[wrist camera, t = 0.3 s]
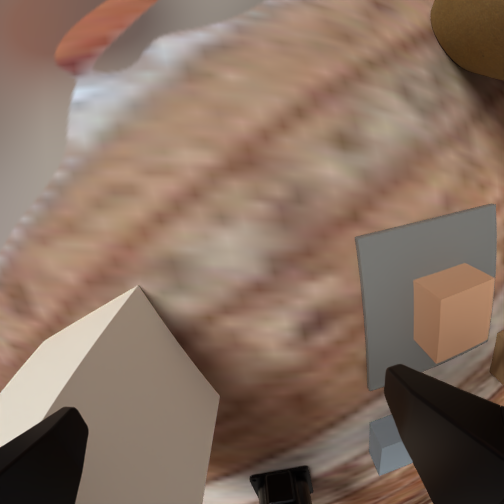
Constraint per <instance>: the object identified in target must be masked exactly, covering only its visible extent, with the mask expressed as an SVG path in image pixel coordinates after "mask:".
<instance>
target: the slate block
mask: <svg viewBox="0 0 504 504" xmlns="http://www.w3.org/2000/svg"><path fill="white" fill-rule="evenodd" d="M369 452H370V455H371V457H372V460H373V462H374V464H375V467H376V469H377V472H378V474H379V476H380V475H383V474H385V473H388V472H391V471H393V470H396V469H398V468H401V467H403V466H406V465H408V464H411V463H413V462H412V460H411V458H410V456H409V454H408V452H407V450H406V448H405V446H404V444H403V442H402V440H401V438H400V435H399V432H398V430H397V427H396V424H395V421H394V419H393V416H392V415H389V416H386V417H384V418H381V419H378V420H375V421H372V422H370V437H369Z"/></svg>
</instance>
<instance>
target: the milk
mask: <svg viewBox="0 0 504 504" xmlns="http://www.w3.org/2000/svg"><path fill="white" fill-rule="evenodd" d="M219 399H220V396H219V394H218V393H217V392H216V391H215V389H214V388H213V387H212V386H211V385H210V383H209V382H208V381H207V380H206V378H205V377H204V376H203V374H202V373H201V372H200V371H199V369H198V368H197V367H196V366H195V364H194V363H193V362H192V360H191V359H190V358H189V356H188V355H187V354H186V352H185V351H184V350H183V348H182V347H181V346H180V344H179V343H178V342H177V340H176V339H175V337H174V336H173V335H172V333H171V332H170V331H169V329H168V328H167V326H166V325H165V323H164V322H163V321H162V319H161V318H160V316H159V315H158V313H157V312H156V311H155V309H154V308H153V306H152V305H151V303H150V302H149V300H148V299H147V297H146V296H145V294H144V293H143V291H142V290H141V288H140V287H139V285H138V286H136V287H134V288H132V289H131V290H129V291H127V292H126V293H124V294H122V295H120V296H119V297H117V298H115V299H114V300H112V301H110V302H108V303H107V304H105V305H103V306H102V307H100V308H98V309H96V310H95V311H93V312H91V313H90V314H88V315H86V316H85V317H83V318H81V319H80V320H78V321H76V322H75V323H73V324H71V325H70V326H68V327H66V328H65V329H63V330H61V331H60V332H58V333H56V334H55V335H53V336H51V337H50V338H48V339H46V340H45V341H44V342H43V343H42V344H41V345H40V346H39V347H38V348H37V350H36V351H35V352H34V353H33V354H32V355H31V357H30V358H29V359H28V360H27V361H26V362H25V364H24V365H23V366H22V367H21V368H20V370H19V371H18V372H17V373H16V374H15V376H14V377H13V378H12V379H11V380H10V382H9V383H8V384H7V385H6V387H5V388H4V389H3V390H2V392H1V393H0V447H1V446H3V445H5V444H6V443H8V442H9V441H11V440H13V439H14V438H16V437H17V436H19V435H20V434H22V433H24V432H25V431H27V430H28V429H30V428H31V427H33V426H35V425H36V424H38V423H39V422H41V421H42V420H44V419H45V418H47V417H48V416H50V415H52V414H53V413H55V412H56V411H58V410H59V409H61V408H62V407H65V406H67V407H75V408H76V409H77V410H78V411H79V413H80V414H81V416H82V418H83V419H84V421H85V422H86V424H87V426H88V429H89V434H88V440H87V446H86V453H85V459H84V466H83V472H82V476H81V481H80V485H79V489H78V493H77V498H76V502H75V504H202V502H203V496H204V490H205V483H206V477H207V471H208V465H209V459H210V453H211V447H212V441H213V435H214V429H215V423H216V417H217V411H218V405H219Z"/></svg>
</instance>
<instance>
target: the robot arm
mask: <svg viewBox="0 0 504 504" xmlns="http://www.w3.org/2000/svg"><path fill="white" fill-rule="evenodd" d="M384 394H385V398H386V400H387V403H388V406H389V408H390V411H391V413H392V416H393V419H394V421H395V424H396V427H397V430H398V432H399V435H400V438H401V440H402V442H403V444H404V446H405V448H406V450H407V452H408V454H409V456H410V458H411V460H412V462H413V464H414V466H415V468H416V470H417V472H418V474H419V476H420V478H421V480H422V482H423V484H424V486H425V488H426V490H427V492H428V494H429V496H430V498H431V500H432V502H433V504H504V406H501V407H500V405H498V404H496V403H493V402H491V401H488V400H486V399H483V398H481V397H478V396H476V395H473V394H471V393H469V392H466V391H464V390H461V389H459V388H457V387H454V386H452V385H449V384H447V383H445V382H442V381H440V380H438V379H435V378H433V377H431V376H428V375H426V374H424V373H421V372H419V371H417V370H414V369H412V368H410V367H408V366H405V365H403V364H396V365H393V366H390V367H388V368H387V369H386V373H385V386H384ZM88 434H89V429H88V426H87V424H86V422H85V421H84V419H83V418H82V416H81V414H80V413H79V411H78V410H77V409H76V408H75V407H67V406H65V407H62V408H61V409H59V410H58V411H56V412H55V413H53V414H52V415H50V416H48V417H47V418H45V419H44V420H42V421H41V422H39V423H38V424H36V425H35V426H33V427H31V428H30V429H28V430H27V431H25V432H24V433H22V434H20V435H19V436H17V437H16V438H14V439H13V440H11V441H9V442H8V443H6V444H5V445H3V446H1V447H0V504H75V502H76V498H77V493H78V489H79V485H80V481H81V476H82V472H83V466H84V459H85V453H86V446H87V440H88ZM250 482H251V484H252V486H253V488H254V490H255V492H256V494H257V496H258V498H259V504H312V501H311V496H310V494H311V493H313V488H312V483H311V478H310V474H309V469H308V467H299V468H295V469H290V470H285V471H279V472H274V473H268V474H261V475H255V476H251V477H250Z"/></svg>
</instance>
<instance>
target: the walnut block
mask: <svg viewBox="0 0 504 504" xmlns="http://www.w3.org/2000/svg"><path fill="white" fill-rule="evenodd" d="M490 373H491V374H492V375H493V376H495V377H496V378H497V379H498V380H499V381H500V382H501V383H502V384H503V385H504V330H502V331H501V332H499V333H497V339H496V344H495V349H494V354H493V359H492V363H491V368H490Z"/></svg>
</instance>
